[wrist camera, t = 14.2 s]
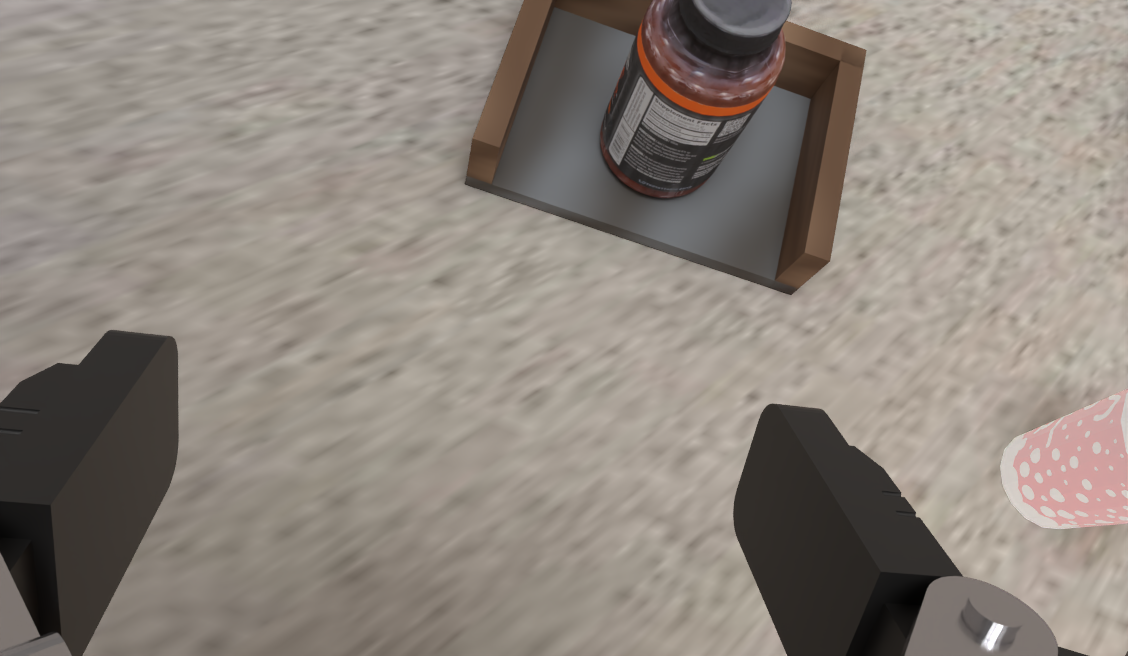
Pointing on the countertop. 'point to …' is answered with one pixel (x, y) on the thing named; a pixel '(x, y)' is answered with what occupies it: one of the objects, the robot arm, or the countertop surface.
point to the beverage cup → (1072, 468)
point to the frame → (717, 208)
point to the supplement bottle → (690, 90)
